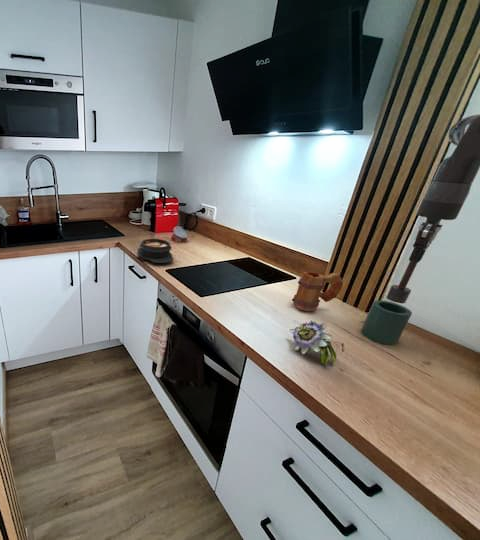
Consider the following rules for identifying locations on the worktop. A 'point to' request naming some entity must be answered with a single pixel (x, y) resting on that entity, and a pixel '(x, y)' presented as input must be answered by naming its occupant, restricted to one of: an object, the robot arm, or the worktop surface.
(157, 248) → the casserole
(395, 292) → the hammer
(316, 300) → the mug
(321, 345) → the passion flower
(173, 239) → the canned food
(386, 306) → the green pencil cup
